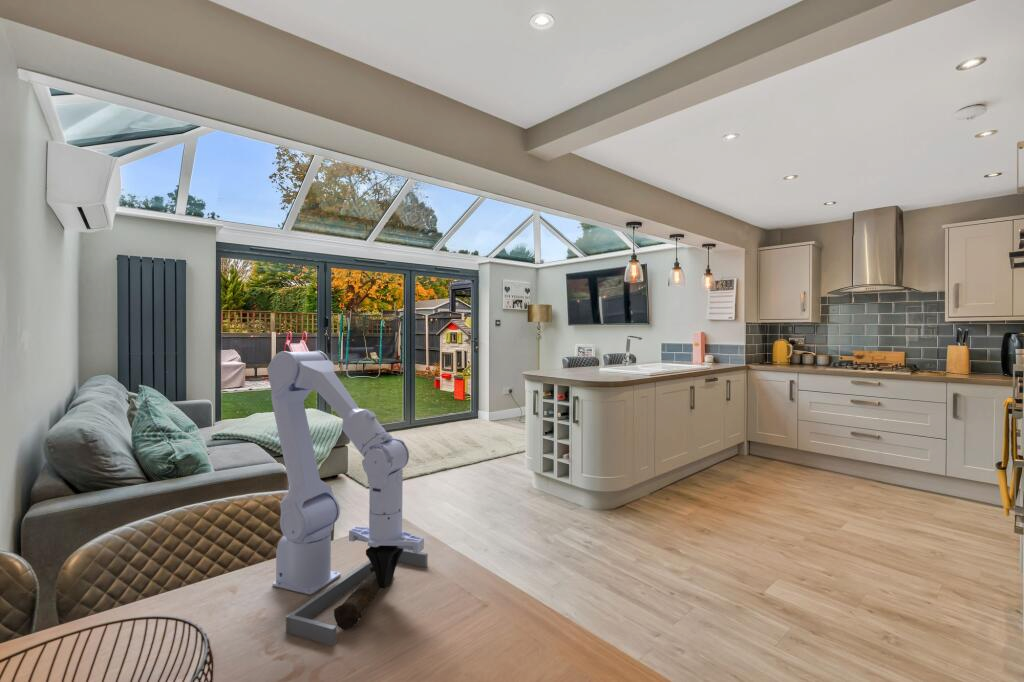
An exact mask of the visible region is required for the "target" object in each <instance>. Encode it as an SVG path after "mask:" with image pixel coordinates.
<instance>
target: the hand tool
mask: <svg viewBox="0 0 1024 682" xmlns="http://www.w3.org/2000/svg"><path fill="white" fill-rule="evenodd" d="M370 571H371V573H370V574H369V575H368V576H367V578H366V579H364V580H363V581H362V582H360V583H359V584H358V585H357V587H356V589H355V590H354V591H353V592H351V593H350V595H349V596H348V597H347V598H346V599H345V600H344V601H343V602H342V603H341V604H340V605H338V606H337V607H335V608H334V610H333V618H334V621H335V623H336V626H337V627H338V628H339V629H341V630H342V631H343V630H344V631H345V630H347V629H351V628H353V627H354V626H356V625H357V624H358V622H360V619H362V618H363V613H364V612H365V610H366V609H367V607H368V606H369V605H370V604H371V602H373V600H374V599H375V598H376V597H377V595H378V594H379V592H380V591H381V590H382V588H379V585H378V581H377V577H376V574H375V571H374V568H373V566H372V565H371V567H370ZM394 575H395V574H394ZM394 575H393V577H394Z"/></svg>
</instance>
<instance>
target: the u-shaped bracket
mask: <svg viewBox="0 0 1024 682" xmlns="http://www.w3.org/2000/svg"><path fill="white" fill-rule="evenodd" d="M428 555H429V554H428V553H427V552H423V551H421V552H419V553H413V551H412V550H407V549H404V550H403V551H402V553H401V555H400V557H399V560H398V562H397V563H400V562H401V564H405V563H407V564H406V565H411V564H412V566H416V565H418V566H417V567H421V566H424V567H423V568H426V566H427V567H428ZM371 565H372V563H371V562H370V560H369V559H368V560H367V561H366V562H365V563H363V564H362V565H360V566H359V567H357V568H356V569H354V570H353V571H352V572H350V573H348V574H347V575H345V576H344V577H342V578H341V579H339V580H338V581H337V582H335V583H334V584H332V585H331V586H329V587H328V588H326V589H325V590H323V591H322V592H320V593H318V594H317V595H315V596H314V597H313V598H311V599H310V600H308V601H307V602H305V603H304V604H303V605H301V606H300V607H297V609H295V610H294V611H292V612H291V613H289V614H288V615H286V616H285V633H286V634H289V635H292V636H296V637H301V638H303V639H306V640H310V641H313V642H318V643H321V644H325V645H329V646H332V647H333V646H335V645H336V644H337V637H338V636H337V627H338V626H337V625H333V624H329V623H325V622H321V621H318V620H315V619H313V618H314V617H315V616H316V615H317V614H319V613H320V612H321V611H323V610H324V609H326V608H328V607H329V606H330V605H332V604H333V603H334V602H336V601H337V600H338V599H340V598H342V597H343V596H344V595H346V593H348V592H350V591H351V590H352V589H354V588H355V587H356V586H359V585H360V584H361V583H362V582H363V581H364V580H365V579H366V578H367V576H368V575H369V574H370V573H371V571H370V567H371Z"/></svg>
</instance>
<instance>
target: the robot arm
mask: <svg viewBox="0 0 1024 682" xmlns="http://www.w3.org/2000/svg"><path fill="white" fill-rule="evenodd" d="M266 371H267V374H268V375H267V376H268V381H269V385H270V390H271V392H270V393H271V394H270V397H271V404H272V410H273V414H274V417H275V418H274V419H275V423H276V429H277V433H278V437H279V442H280V447H281V448H280V449H281V453H282V458H283V461H284V466H285V471H286V475H287V476H286V477H287V482H288V486H289V489H288V491H287V492H286V493H285V495H284V496H283V498H282V499H281V500H280V502H279V507H280V517H279V527H280V530H281V533H282V537H281V538H280V539H279V541H278V543H277V546H276V553H275V555H276V556H275V557H276V558H275V559H276V561H275V569H276V570H275V581H273V582H272V586H273V587H277V588H281V589H285V590H288V591H294V592H297V593H300V594H301V593H302V594H306V595H313V594H315V593H317V592H318V591H320V590H321V589H323V588H324V587H325V586H327V585H329V584H330V583H332V582H333V581H335V580H336V579H338V578H339V577H341V576H342V574H341V572H338V571H335V570H331V569H332V568H331V567H332V566H331V565H332V563H331V561H332V560H331V558H332V557H331V556H332V555H331V553H332V549H331V548H332V531H333V530H334V524H335V523H336V522H337V521H338V519H339V517H340V514H341V508H340V504H339V501H338V500H337V498H336V497H335V495H334V493H333V488H332V486H331V485H330V484H328V483H327V482H325V481H324V480H322V479H321V476H320V473H319V468H318V467H319V466H318V463H317V459H316V453H315V450H314V449H315V448H314V445H313V444H314V443H313V439H312V435H311V430H310V425H309V421H308V416H307V413H306V407H305V404H304V403H305V402H304V401H305V400H306V398H307V397H308V396H309V394H310V393H311V392H312V391H315V392H317V393H318V394H319V395H320V396H321V397H322V399H324V401H325V402H326V403H327V404H328V405H329V406H330V407H331V408H332V409H333V410H334V412H335V413H336V414H337V415H338V417H339V418H341V419H342V425H341V430H342V431H343V434H345V436H347V438H348V440H350V442H351V443H352V444H353V446H354V447H355V448H356V449H357V451H358V452H359V453H360V455H361V456H362V457H363V459H362V460H361V465H362V468H363V471H364V472H365V474H366V477H367V484H368V485H369V486H368V487H369V495H368V496H369V498H368V499H369V500H368V502H369V503H368V504H369V505H368V506H369V508H368V511H369V512H368V527H367V526H366V527H364V526H354V527H352V528H350V529H349V531H348V541H350V542H355V541H359V542H365V543H367V546H368V548H367V549H366V550H365V556H366V557H367V559H368V561H369V560H370V562H371V563H372V566H373V568H374V571H375V574H376V577H377V581H378V585H379V588H381V589H384V590H386V589H387V588H389V587H390V586H391V585H392V583H393V577H394V576H393V575H395V571H396V567H397V565H398V563H399V562H398V560H399V557H400V555H401V553H402V551H403V550H404V549H406V550H411V551H413V553H419V552H423V550H424V549H425V539H424V537H421V536H416V535H414V534H412V533H409V532H407V531H405V530H403V487H404V486H403V479H404V478H403V475H404V474H403V469H404V468H405V467H406V466H407V464H408V463H409V459H410V452H409V449H408V447H407V445H406V444H405V442H404V440H402V439H400V438H397V437H393V436H392V434H390V433H389V432H387V431H386V429H385V428H384V427H383V426H382V425H381V423H380V422H379V420H377V415H376V413H374V411H371V410H369V409H366V408H360V407H359V406H358V405H357V403H356V402H355V400H354V399H353V397H352V396H351V394H350V393H349V391H348V390H347V389H346V387H345V386H344V384H343V383H342V381H341V379H340V378H339V377H338V375H337V374H336V373H335V364H334V362H332V361H331V360H330V359H329V357H328V355H327V354H326V353H325V352H323V351H322V350H313V351H286V350H284V351H279V352H277V353H276V354H274V356H273V358H272V359H271V361H270V362H269V364H268V366H267V368H266Z"/></svg>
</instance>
